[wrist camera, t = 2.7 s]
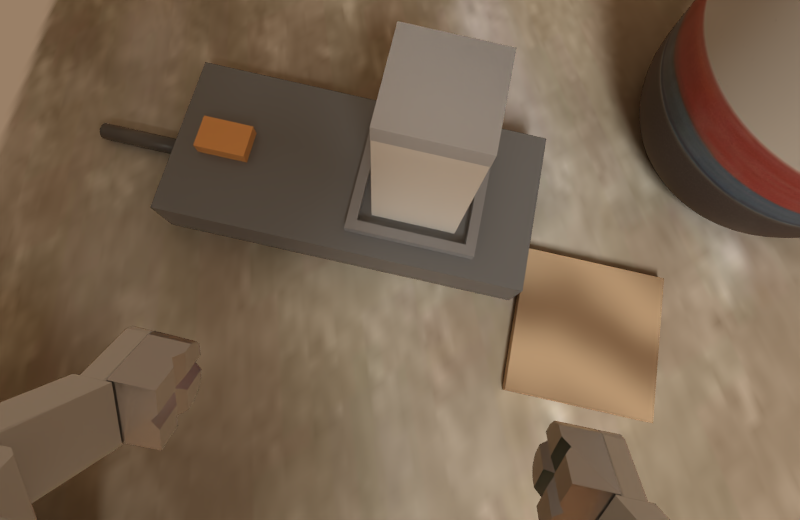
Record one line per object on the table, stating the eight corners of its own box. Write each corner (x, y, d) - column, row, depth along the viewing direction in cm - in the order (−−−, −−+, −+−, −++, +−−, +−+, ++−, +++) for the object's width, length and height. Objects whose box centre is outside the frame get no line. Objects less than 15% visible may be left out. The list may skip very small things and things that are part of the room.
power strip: (508, 299, 30) (526, 288, 27) (80, 203, 30) (40, 178, 27) (531, 160, 33) (550, 132, 29) (135, 71, 33) (106, 32, 29)
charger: (454, 234, 28) (496, 155, 18) (371, 215, 28) (369, 127, 18) (469, 158, 29) (516, 47, 20) (389, 140, 29) (397, 21, 20)
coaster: (647, 422, 29) (652, 422, 28) (502, 389, 29) (504, 389, 28) (658, 280, 31) (663, 278, 31) (524, 250, 31) (527, 247, 31)
